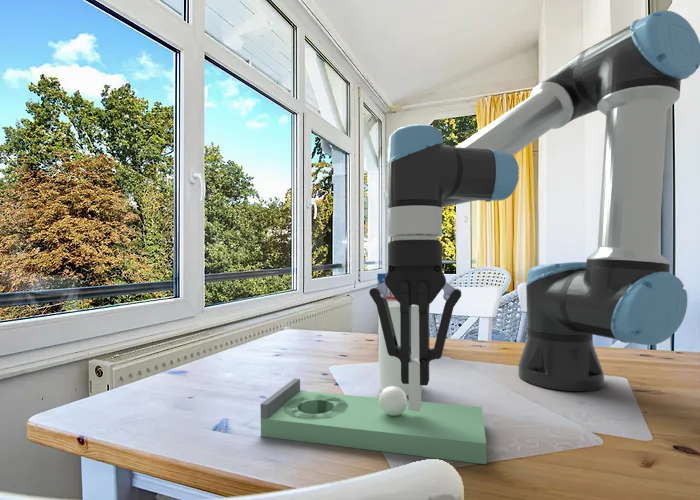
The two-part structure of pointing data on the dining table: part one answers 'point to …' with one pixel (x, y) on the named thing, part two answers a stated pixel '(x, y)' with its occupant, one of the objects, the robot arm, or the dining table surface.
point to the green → (375, 424)
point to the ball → (393, 400)
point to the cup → (391, 364)
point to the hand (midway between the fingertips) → (415, 407)
